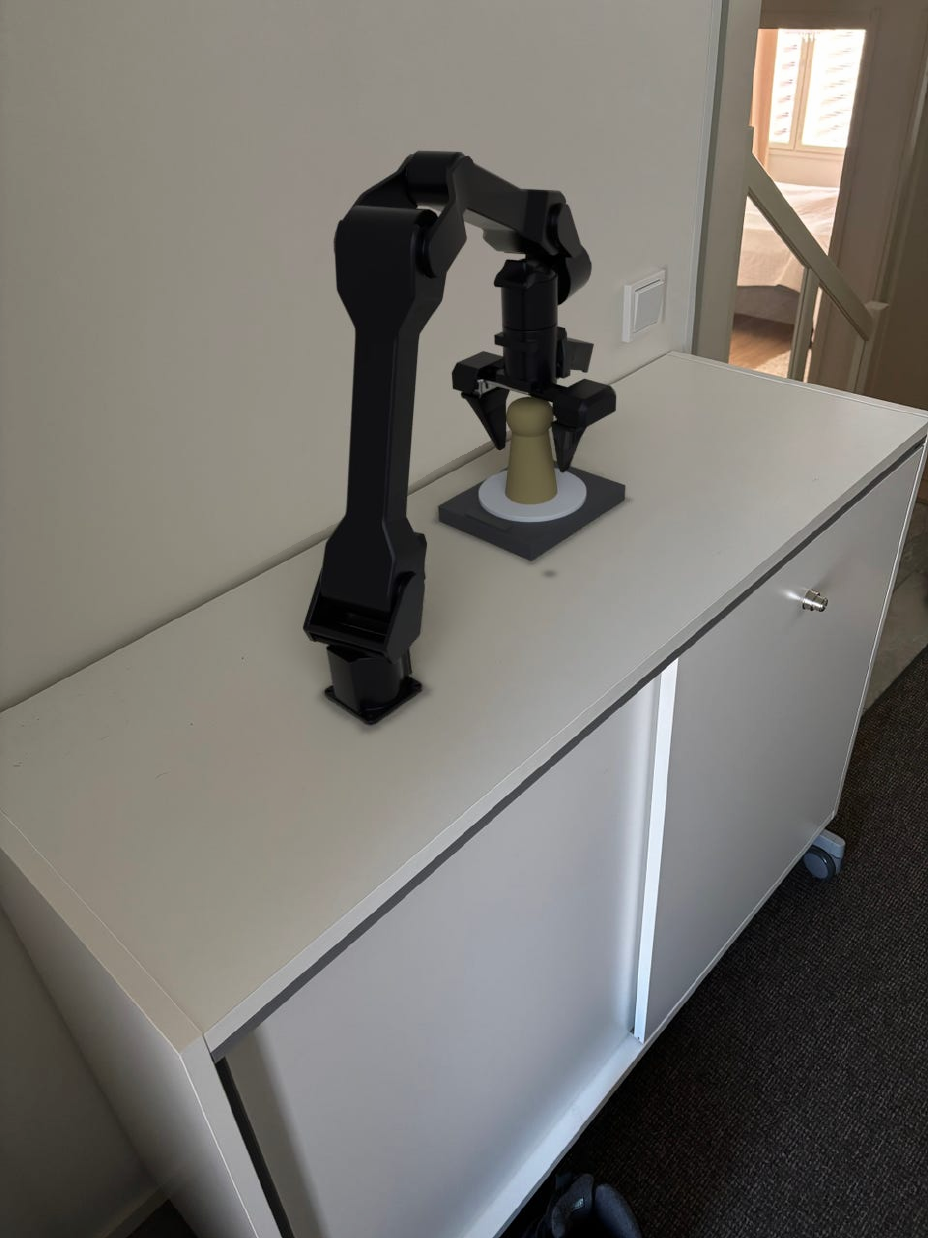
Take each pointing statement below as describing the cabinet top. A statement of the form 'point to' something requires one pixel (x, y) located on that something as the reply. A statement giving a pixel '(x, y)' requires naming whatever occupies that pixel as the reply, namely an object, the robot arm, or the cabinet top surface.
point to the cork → (530, 452)
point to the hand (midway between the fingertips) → (531, 459)
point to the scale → (531, 511)
